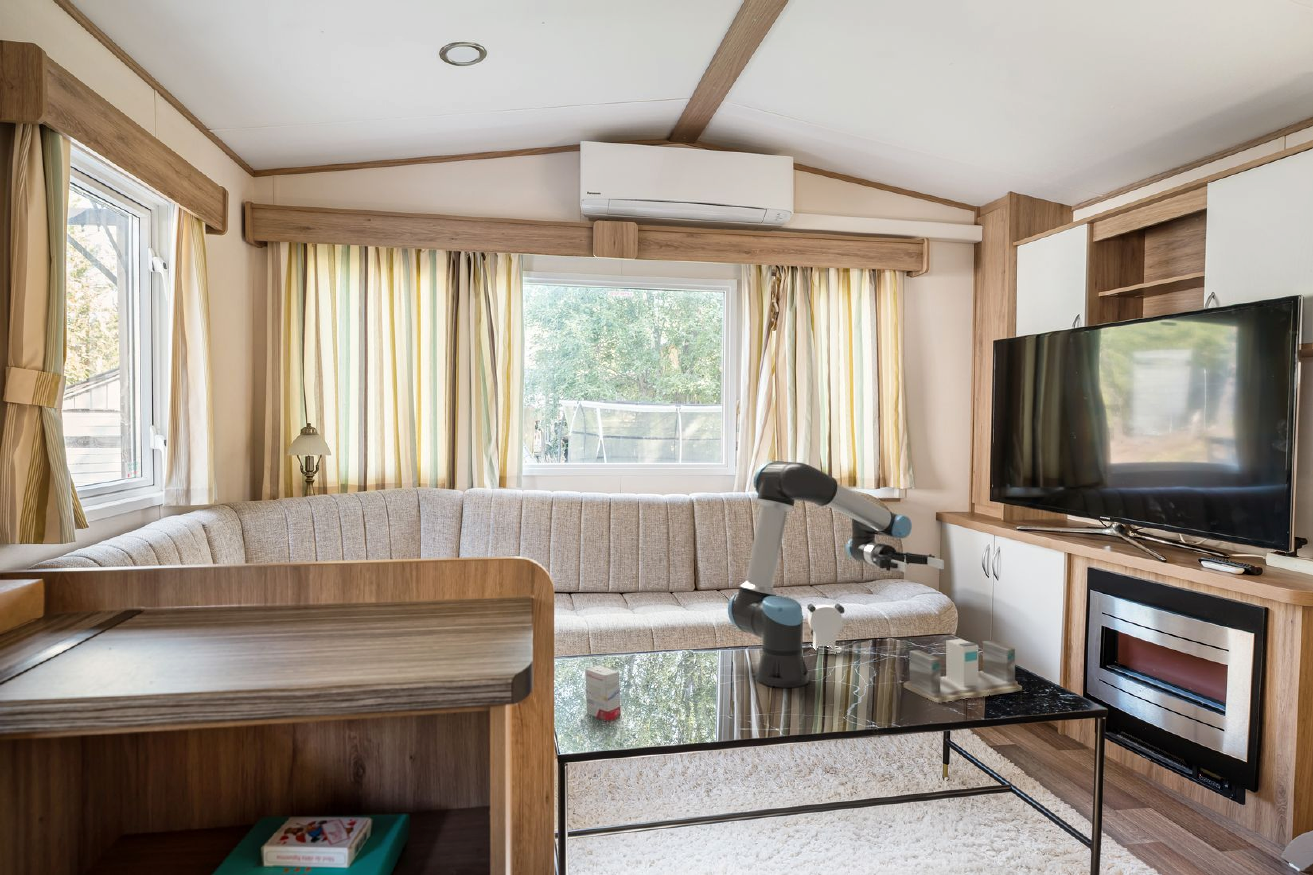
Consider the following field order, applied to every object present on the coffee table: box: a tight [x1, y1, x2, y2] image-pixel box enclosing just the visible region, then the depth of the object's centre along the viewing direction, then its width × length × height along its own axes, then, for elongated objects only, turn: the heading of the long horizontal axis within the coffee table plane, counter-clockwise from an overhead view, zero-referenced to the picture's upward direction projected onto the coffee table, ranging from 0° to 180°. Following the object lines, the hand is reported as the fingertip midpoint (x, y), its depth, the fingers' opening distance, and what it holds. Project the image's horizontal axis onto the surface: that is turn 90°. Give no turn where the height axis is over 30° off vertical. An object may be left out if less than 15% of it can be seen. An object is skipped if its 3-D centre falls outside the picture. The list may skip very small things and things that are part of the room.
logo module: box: [945, 638, 979, 687], centre depth 214 cm, size 5×7×11 cm
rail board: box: [903, 640, 1023, 704], centre depth 214 cm, size 29×14×11 cm, turn 110°
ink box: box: [584, 664, 622, 722], centre depth 196 cm, size 9×5×12 cm, turn 44°
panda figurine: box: [807, 603, 845, 655], centre depth 252 cm, size 12×11×15 cm
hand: (924, 566), depth 228 cm, fingers open, 13 cm apart
